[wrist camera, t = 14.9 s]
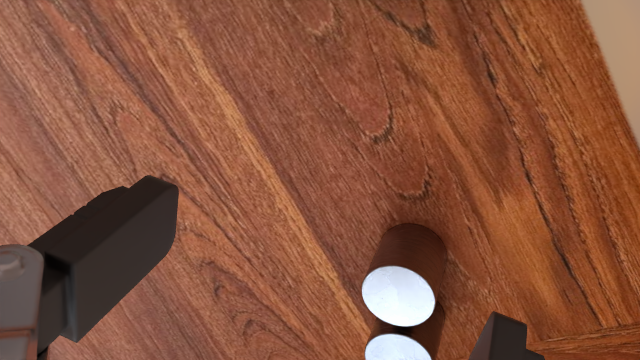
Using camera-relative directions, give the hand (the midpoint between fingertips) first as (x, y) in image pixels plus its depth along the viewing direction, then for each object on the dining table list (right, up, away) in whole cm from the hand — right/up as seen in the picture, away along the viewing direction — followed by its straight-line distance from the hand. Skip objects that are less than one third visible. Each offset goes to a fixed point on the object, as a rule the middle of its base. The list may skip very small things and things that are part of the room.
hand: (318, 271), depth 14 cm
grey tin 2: (+8, -10, +37) cm, 39 cm away
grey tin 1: (+8, -4, +34) cm, 35 cm away
